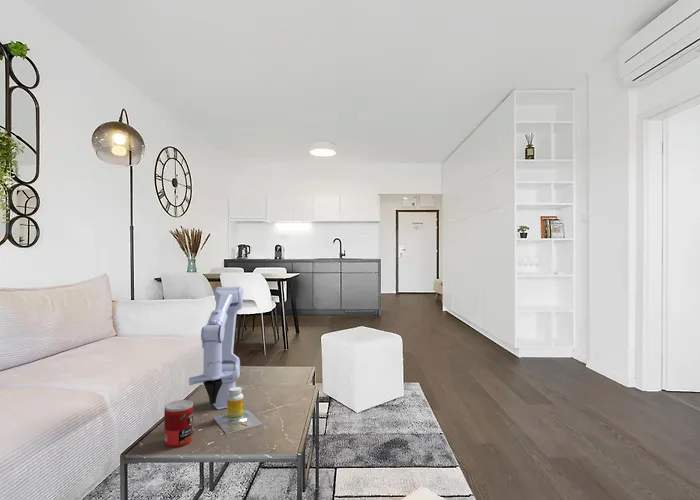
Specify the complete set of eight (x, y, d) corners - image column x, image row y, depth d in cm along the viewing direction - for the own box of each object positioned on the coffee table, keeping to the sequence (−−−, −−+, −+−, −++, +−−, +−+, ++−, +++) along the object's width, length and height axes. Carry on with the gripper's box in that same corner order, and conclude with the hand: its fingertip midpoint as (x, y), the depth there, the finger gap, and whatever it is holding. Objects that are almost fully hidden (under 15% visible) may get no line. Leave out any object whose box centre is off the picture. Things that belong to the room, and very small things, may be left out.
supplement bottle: (225, 416, 131) (225, 387, 132) (242, 413, 134) (242, 385, 134) (228, 422, 127) (228, 392, 127) (244, 418, 129) (244, 389, 129)
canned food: (183, 449, 109) (183, 410, 110) (158, 447, 111) (158, 408, 111) (198, 436, 117) (198, 400, 117) (174, 435, 118) (174, 399, 119)
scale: (213, 417, 131) (213, 416, 131) (247, 410, 138) (247, 408, 138) (226, 434, 118) (225, 432, 119) (263, 424, 125) (263, 423, 125)
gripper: (192, 367, 119) (191, 411, 119) (238, 360, 127) (238, 401, 127) (187, 362, 125) (187, 404, 125) (231, 356, 133) (231, 395, 133)
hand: (212, 403), depth 126 cm, fingers closed
